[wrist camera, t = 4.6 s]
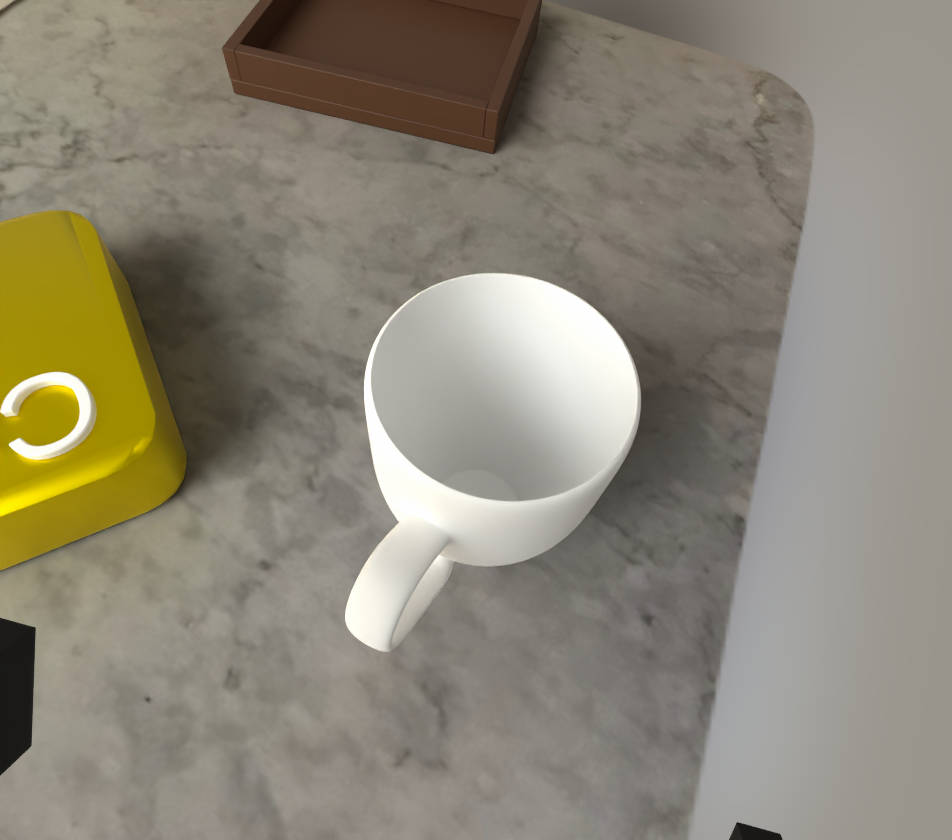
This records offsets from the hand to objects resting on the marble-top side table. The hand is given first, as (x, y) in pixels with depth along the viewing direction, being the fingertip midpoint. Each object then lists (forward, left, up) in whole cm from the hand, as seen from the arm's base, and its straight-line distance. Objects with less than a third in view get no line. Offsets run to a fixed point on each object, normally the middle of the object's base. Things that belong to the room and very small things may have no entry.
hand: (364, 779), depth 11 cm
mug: (0, -9, -13) cm, 16 cm away
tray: (+13, -42, -13) cm, 46 cm away
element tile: (+22, -9, -13) cm, 27 cm away
